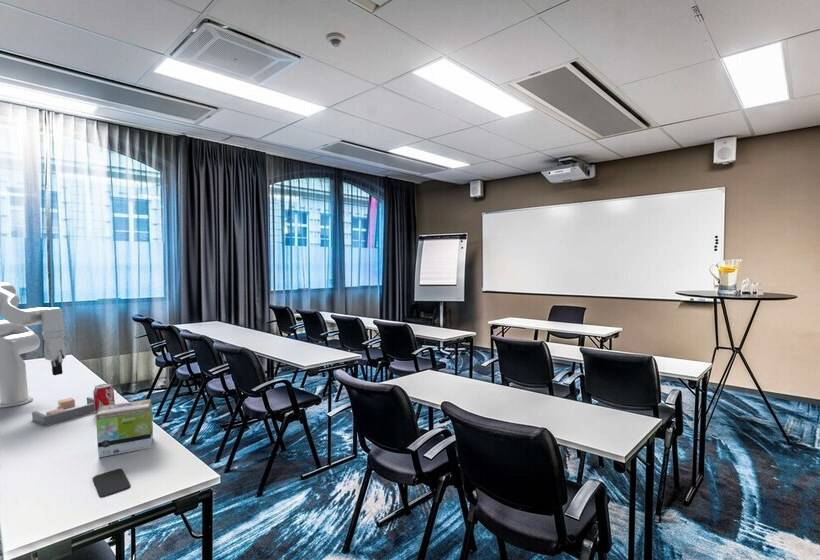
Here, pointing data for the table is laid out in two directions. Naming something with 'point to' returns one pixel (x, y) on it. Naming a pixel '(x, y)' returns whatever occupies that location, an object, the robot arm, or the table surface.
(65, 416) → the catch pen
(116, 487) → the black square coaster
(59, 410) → the light orange-brown block
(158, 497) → the table surface
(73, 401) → the peach rectangular block
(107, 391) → the soda can
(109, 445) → the tea box
